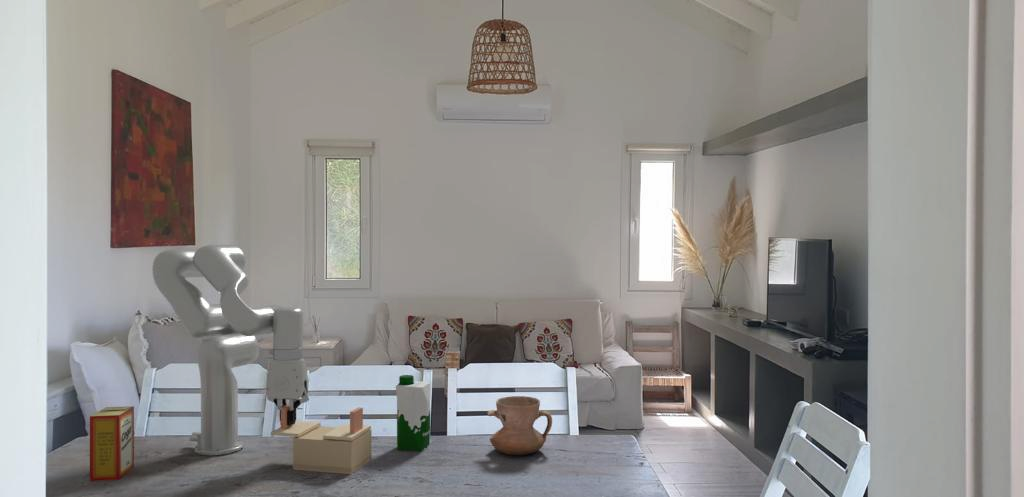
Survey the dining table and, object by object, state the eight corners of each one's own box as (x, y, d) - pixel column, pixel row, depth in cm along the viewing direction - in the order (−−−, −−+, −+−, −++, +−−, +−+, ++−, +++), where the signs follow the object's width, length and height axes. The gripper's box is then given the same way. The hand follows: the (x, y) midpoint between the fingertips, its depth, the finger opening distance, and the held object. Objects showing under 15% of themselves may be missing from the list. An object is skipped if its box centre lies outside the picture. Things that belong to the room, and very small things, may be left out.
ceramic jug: (486, 459, 184) (486, 406, 184) (488, 443, 198) (488, 394, 198) (553, 459, 184) (553, 406, 184) (551, 444, 198) (551, 394, 198)
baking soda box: (118, 479, 167) (118, 413, 167) (89, 481, 166) (89, 414, 166) (133, 467, 177) (133, 404, 177) (106, 468, 176) (106, 405, 176)
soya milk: (403, 442, 200) (404, 373, 200) (433, 443, 198) (433, 374, 198) (392, 450, 191) (392, 378, 191) (423, 452, 189) (423, 380, 189)
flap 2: (323, 438, 174) (323, 413, 174) (343, 426, 185) (343, 403, 185) (351, 440, 172) (351, 415, 172) (370, 428, 183) (371, 404, 183)
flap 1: (270, 435, 177) (270, 410, 177) (294, 423, 188) (294, 400, 188) (298, 437, 175) (298, 412, 175) (320, 425, 186) (320, 402, 186)
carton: (292, 469, 175) (292, 438, 175) (316, 455, 187) (316, 425, 187) (351, 474, 172) (351, 442, 172) (371, 459, 183) (371, 429, 183)
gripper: (253, 355, 180) (253, 426, 180) (307, 358, 177) (307, 429, 177) (269, 351, 187) (269, 419, 187) (321, 353, 184) (321, 422, 184)
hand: (287, 423), depth 182 cm, fingers closed
